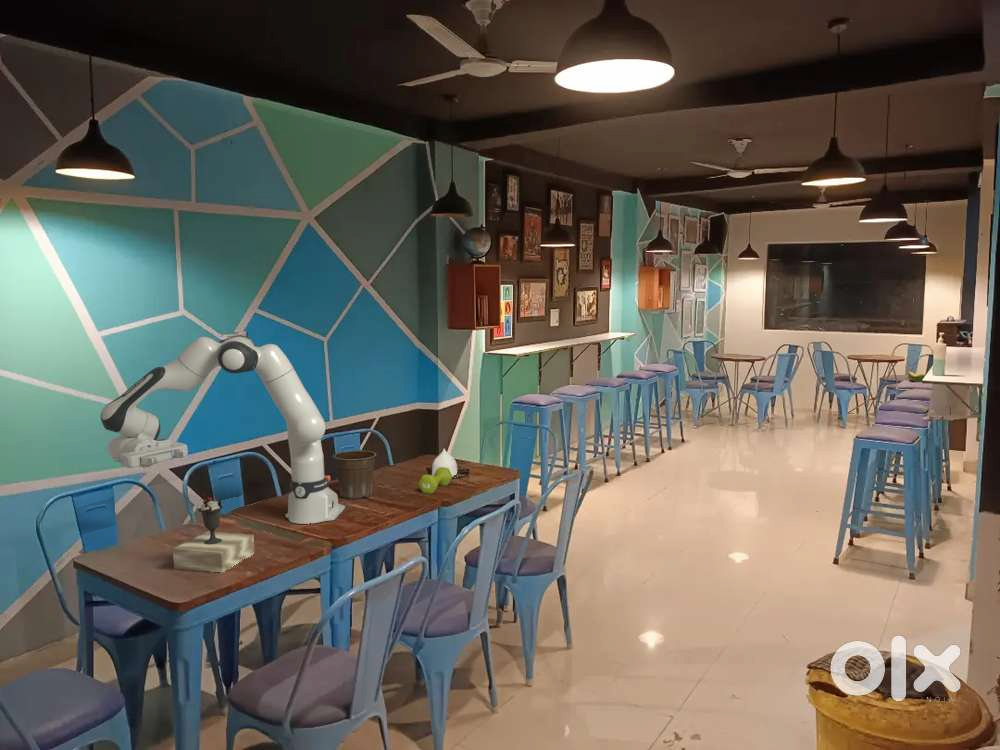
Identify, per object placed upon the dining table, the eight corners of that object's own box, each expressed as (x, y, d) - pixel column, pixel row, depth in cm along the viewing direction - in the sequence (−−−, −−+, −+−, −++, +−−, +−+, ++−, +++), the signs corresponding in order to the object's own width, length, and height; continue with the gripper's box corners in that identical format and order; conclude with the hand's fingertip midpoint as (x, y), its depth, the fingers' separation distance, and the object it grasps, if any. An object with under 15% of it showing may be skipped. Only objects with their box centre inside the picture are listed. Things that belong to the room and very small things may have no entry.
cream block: (208, 550, 232) (207, 531, 231) (254, 553, 228) (253, 534, 227) (174, 568, 217) (172, 548, 216) (222, 573, 213) (221, 552, 212)
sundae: (196, 545, 219) (193, 494, 217) (208, 537, 225) (204, 488, 224) (217, 545, 218) (214, 495, 216) (228, 538, 224) (225, 489, 223)
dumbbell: (435, 495, 290) (434, 477, 289) (417, 493, 293) (416, 475, 293) (454, 484, 305) (453, 467, 304) (436, 483, 308) (436, 466, 308)
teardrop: (439, 471, 328) (438, 444, 326) (462, 473, 323) (461, 446, 322) (427, 477, 318) (426, 449, 316) (450, 479, 313) (450, 451, 312)
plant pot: (378, 488, 301) (377, 449, 299) (376, 499, 285) (375, 458, 283) (337, 490, 299) (335, 451, 297) (333, 502, 283) (331, 460, 281)
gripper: (111, 449, 232) (136, 454, 224) (172, 438, 248) (197, 442, 241) (112, 469, 232) (137, 475, 225) (173, 456, 249) (198, 461, 241)
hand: (169, 457), depth 233 cm, fingers open, 8 cm apart
